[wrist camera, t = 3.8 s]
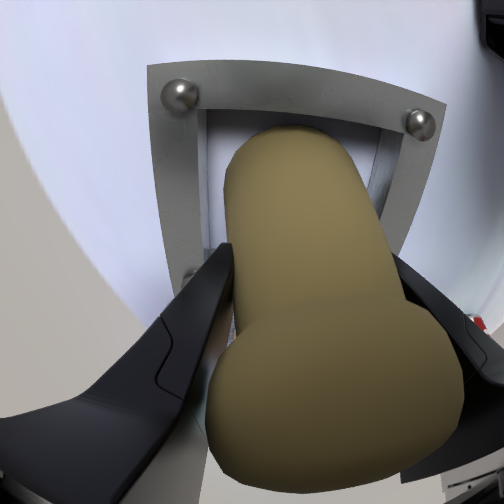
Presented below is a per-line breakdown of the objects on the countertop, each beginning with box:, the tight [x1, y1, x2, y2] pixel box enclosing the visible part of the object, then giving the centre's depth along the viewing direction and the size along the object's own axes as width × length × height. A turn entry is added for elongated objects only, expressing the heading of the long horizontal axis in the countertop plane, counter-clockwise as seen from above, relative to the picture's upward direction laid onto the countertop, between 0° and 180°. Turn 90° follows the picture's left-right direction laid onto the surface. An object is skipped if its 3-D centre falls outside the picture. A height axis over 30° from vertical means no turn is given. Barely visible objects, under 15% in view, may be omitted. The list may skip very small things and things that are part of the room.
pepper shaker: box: [205, 124, 464, 494], centre depth 8 cm, size 6×6×11 cm
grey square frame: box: [147, 60, 447, 297], centre depth 11 cm, size 11×11×2 cm
